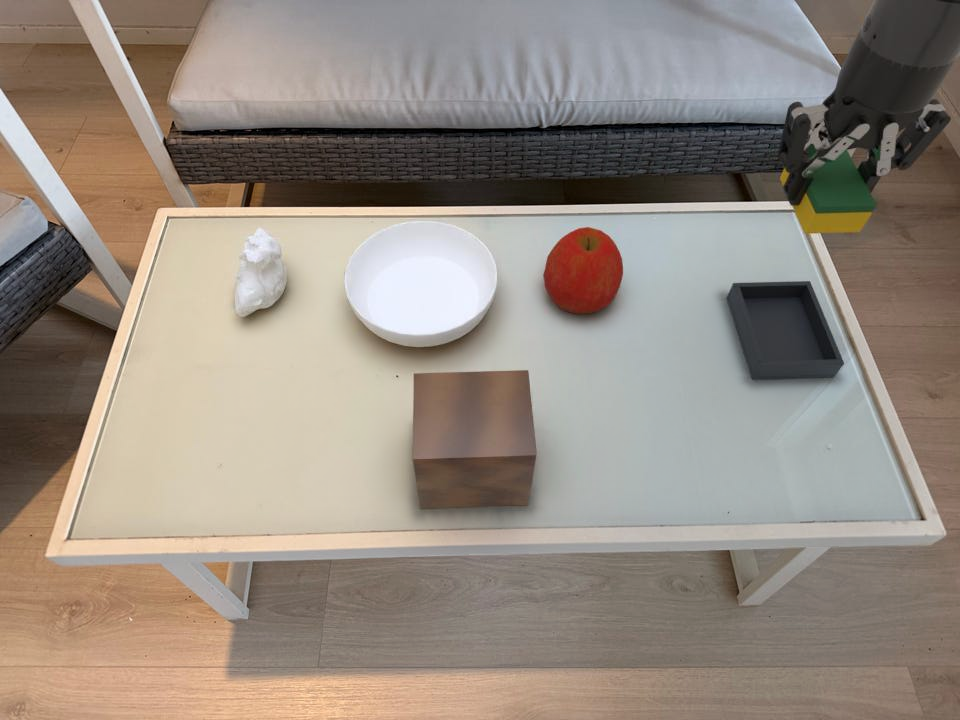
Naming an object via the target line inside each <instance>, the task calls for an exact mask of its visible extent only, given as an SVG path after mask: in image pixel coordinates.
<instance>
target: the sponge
mask: <svg viewBox="0 0 960 720" xmlns="http://www.w3.org/2000/svg"><path fill="white" fill-rule="evenodd" d="M816 153H817V152H816ZM816 153H815V154H814V155H813V156H812V157H811V158H810V159H812V158H813V157H814V156H815V155H816ZM789 174H790V173H788V172H787V171H786V169H785V167H784V168H783V169H782V173H781V174H780V177H779V179H780V182H781V184H782V187H783V186H784V184H785V182H786V180H787V178H788V176H789ZM813 177H814V179H813V181H812V183H811V184H810V186H809V187H808V189H807V191H806V193H805V195H804V197H803V199H802V201H801V203H800V204H799V205H796V206H791V207H792V209H793V211H794V213H795V216H796V217H797V220H798V222H799V225H800V226H801V227H800V228H801V229H802V231H803V234H806V235H810V234H811V235H812V234H838V233H839V234H844V233H860V232H861V231H862V230H863V228H864V226H865V225H866V223H867V222H868V221H869V219H870V217H871V215H873V212H874V211H875V209H876V207H877V206H878V205H877V202H876V201H875V199H874V197H873V195H872V192H871V193H870V191H869V190H868V188H867V186H866V184H865V182H864V180H863V179H862V177H861V175H860V173H859V171H858V167H857V166H856V164H855V162H854V160H853V158H852V157H851V155H850V153H849V150H845V151H844V152H843V153H842V154H841V155H840V156H839V157H837V158H836V159H835V160H834V161H833V162H827V163H826V164H825V165H824V166H822V167H821V168H820V169H819V170H818V171H817V172H816V173H815V174H814V175H813Z"/></svg>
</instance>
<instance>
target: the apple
mask: <svg viewBox="0 0 960 720" xmlns="http://www.w3.org/2000/svg"><path fill="white" fill-rule="evenodd" d="M623 263H624V262H623V257H622V255H621V252H620V249H619V247H618V246H617V244H616V242H615V241H614V240H613V239H612V237H611V236H610V235H609V234H607V233H605V232H604V231H602V229H597V228H594V227H589V226H585V227H579V228H577V229H574V230H572V231H569V232H568V233H567V234H565V235H564V236H562V237H561V238H560V239H559V240H558V241H557V243H556V244H555V245H554V246H553V247H552V249H551V250H550V252H549V254H548V255H547V256H546V263H545V265H544V266H545V267H544V270H543V276H542V277H543V283H544V287H545V290H546V291H547V294H548V295H549V297H550V299H551V300H552V302H554V303H555V304H556V306H558V307H559V308H560V309H562V310H564V311H566V312H568V313H572V314H578V315H579V314H580V315H585V314H591V313H596V312H599V311H600V310H602V309H605V308H607V307H608V306H609V305H610V303H611V302H613V301H614V300H615V298H616V296H617V294H618V292H619V289H620V288H621V284H622V281H623V276H624V264H623Z"/></svg>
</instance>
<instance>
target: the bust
mask: <svg viewBox="0 0 960 720" xmlns="http://www.w3.org/2000/svg"><path fill="white" fill-rule="evenodd" d="M282 255H283V254H282V247H281V245H280V242H279V241H278V240H277V239H276V238H275V237H274V236H272V234H271V233H270V232H269V231H268V230H265V229H264V228H263V227H257V228H256V231H255V232H254V234H253V235H249V236H247V237H246V238H244V243H243V250H242V252H241V253H239V254H238V259H239V260H242V261H241V262H240V264H239V265H238V270H237V272H236V275H235V291H234V309H235V311H236V314H237V315H238V316H239V317H241V318H246V317H247V316H249V315H251V314H253V313H254V312H255V311H257V310H260V309H267V308H270V307H272V306H274V304H275V303H276V302H277V301H278V300H280V298H281V297H282V296H283V294H284V292H285V289H286V286H287V282H288V273H287V268H286V267H285V263H284V261H283V259H282Z"/></svg>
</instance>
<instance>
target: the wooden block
mask: <svg viewBox="0 0 960 720" xmlns="http://www.w3.org/2000/svg"><path fill="white" fill-rule="evenodd" d="M531 393H532V392H531V384H530V373H529V370H528V369H524V370H523V369H521V370H483V371H447V372H446V371H445V372H416V373H415V372H414V373H413V402H412V403H413V404H412V405H413V406H412V410H413V411H412V465H413V471H414V478H415V485H416V491H417V493H416V494H417V500H418V505H419V506H418V507H419V509H420V510H423V509H425V510H426V509H452V508H453V509H454V508H456V509H457V508H481V507H484V508H485V507H511V506H529V502H530V497H531V492H532V491H531V490H532V485H533V480H534V479H533V478H534V473H535V469H536V462H537V458H538V457H537V456H538V453H537V443H536V433H535V424H534V413H533V404H532V403H533V402H532V394H531Z"/></svg>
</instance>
